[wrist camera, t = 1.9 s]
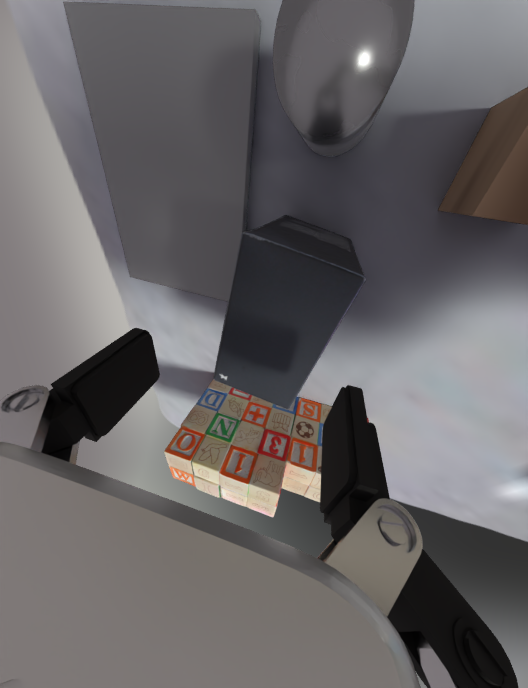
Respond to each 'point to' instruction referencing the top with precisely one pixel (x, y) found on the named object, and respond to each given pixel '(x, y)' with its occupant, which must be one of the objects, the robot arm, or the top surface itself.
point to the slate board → (173, 132)
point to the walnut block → (495, 167)
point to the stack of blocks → (249, 448)
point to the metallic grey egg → (337, 65)
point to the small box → (284, 307)
